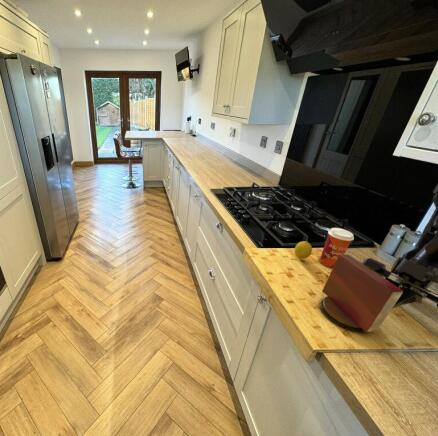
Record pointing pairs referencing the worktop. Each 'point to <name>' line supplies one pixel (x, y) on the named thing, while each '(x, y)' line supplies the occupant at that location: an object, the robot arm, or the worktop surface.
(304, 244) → the lemon
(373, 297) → the book stand
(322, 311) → the turntable base
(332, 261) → the paper cup
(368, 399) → the worktop surface
